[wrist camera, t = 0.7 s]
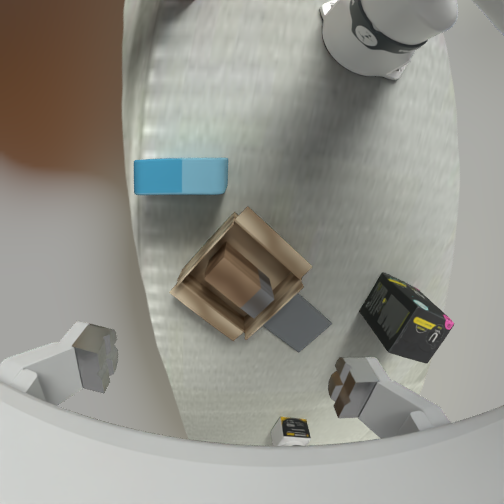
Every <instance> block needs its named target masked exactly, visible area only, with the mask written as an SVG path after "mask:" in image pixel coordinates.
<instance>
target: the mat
mask: <svg viewBox="0 0 504 504" xmlns="http://www.w3.org/2000/svg"><path fill="white" fill-rule="evenodd" d="M331 324H332V323H331V322H330V321H329V320H328V319H327V318H325V317H324V316H323V315H322V314H321V313H320V312H319V311H317V310H316V309H315V308H314V307H313V306H312V305H311V304H309V303H308V302H307V301H306V300H305V299H304V298H303V297H301V296H300V295H299V294H298V293H297V294H296V295H295V296H294V297H293V298H292V299H291V300H290V301H289V302H288V303H286V304H285V305H284V306H283V307H282V308H281V309H280V310H279V311H278V312H277V313H276V314H275V315H274V316H272V317H271V318H270V319H269V320H268V321H267V322H266V323H265V324H264V325H263V326H264V327H265V328H267V329H268V330H269V331H271V332H272V333H273V334H275V335H276V336H277V337H279V338H280V339H281V340H283V341H284V342H285V343H287V344H288V345H289V346H291V347H292V348H293V349H295V350H296V351H297V352H300V351H301V350H302V349H303V348H305V347H306V346H307V345H308V344H309V343H311V342H312V341H313V340H314V339H315V338H316V337H317V336H319V335H320V334H321V333H322V332H323V331H324V330H325V329H327V328H328V327H329V326H330V325H331Z"/></svg>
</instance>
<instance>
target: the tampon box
mask: <svg viewBox="0 0 504 504" xmlns="http://www.w3.org/2000/svg"><path fill="white" fill-rule="evenodd" d="M359 312H360V313H361V314H362V316H363V317H364V319H365V320H366V321H367V323H368V324H369V325H370V327H371V328H372V330H373V331H374V333H375V334H376V335H377V337H378V338H379V340H380V341H381V343H382V344H383V346H384V347H385V348H386V350H387V351H388V352H389V353H392V354H395V355H399V356H402V357H405V358H409V359H412V360H416V361H420V362H423V363H428V362H429V360H430V359H431V357H432V356H433V355H434V353H435V352H436V350H437V349H438V348H439V346H440V345H441V343H442V342H443V341H444V339H445V337H446V336H447V335H448V333H449V331H450V330H451V329H452V327H453V326H454V323H453V322H452V320H451V319H450V318H449V317H448V316H447V315H445V314H444V313H443V312H442V311H441V310H440V309H439V308H438V307H437V306H436V305H434V304H433V303H432V302H431V301H430V300H429V299H428V298H427V297H426V296H425V295H423V294H422V293H421V292H420V291H419V290H418V289H417V288H415V287H413V286H411V285H409V284H407V283H405V282H403V281H401V280H399V279H397V278H395V277H393V276H391V275H388V274H386V273H382V274H381V276H380V278H379V279H378V281H377V283H376V285H375V286H374V288H373V290H372V291H371V293H370V295H369V296H368V298H367V300H366V301H365V303H364V305H363V306H362V308H361V309H360V311H359Z"/></svg>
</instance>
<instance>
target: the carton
mask: <svg viewBox="0 0 504 504" xmlns="http://www.w3.org/2000/svg"><path fill="white" fill-rule="evenodd" d="M226 241H227V242H228V243H229V244H230V245H231V246H232V247H234V248H235V249H236V250H237V251H238V252H239V253H241V254H242V255H243V256H244V257H245V258H246V259H247V260H249V261H250V262H251V263H252V264H253V265H254V266H256V267H257V268H258V269H259V270H260V271H261V272H263V273H264V274H265V275H266V276H267V277H268V278H269V279H270V283H271V287H272V291H273V295H274V300H273V301H272V302H271V303H270V304H269V305H268V306H267V307H266V308H265V309H264V310H263V311H262V312H261V313H260V314H258V315H257V316H256V317H255V318H252V317H251V316H250V315H249V314H247V313H246V312H245V311H243V310H242V309H241V308H240V307H238V306H237V305H236V304H235V303H233V302H232V301H231V300H229V299H228V298H227V297H226V296H224V295H223V294H222V293H221V292H219V291H218V290H217V289H216V288H214V287H213V286H212V285H211V284H210V283H208V282H207V281H206V280H205V279H204V276H205V272H206V269H207V265H208V262H209V259H210V258H211V257H212V256H213V255H214V254H215V253H216V252H217V251H218V250H219V249H220V248H221V247H222V245H223V244H224V243H225V242H226ZM311 268H312V266H311V265H310V264H309V263H308V262H307V261H306V260H305V259H304V258H303V257H302V256H301V255H300V254H299V253H298V252H297V251H296V250H294V249H293V248H292V247H291V246H290V245H289V244H288V243H287V242H286V241H285V240H284V239H283V238H282V237H281V236H279V235H278V234H277V233H276V232H275V231H274V230H273V229H272V228H271V227H270V226H269V225H268V224H266V223H265V222H264V221H263V220H262V219H261V218H260V217H259V216H258V215H257V214H255V213H254V212H253V211H252V210H251V209H250V208H249V207H248V206H247V207H246V208H245V210H244V211H243V212H242V213H241V214H240V215H238V214H236V213H235V212H234V213H233V214H232V215H231V216H230V217H229V218H228V219H227V221H226V222H225V223H224V224H223V225H222V226H221V227H220V228H219V229H218V230H217V231H216V233H215V234H214V235H213V236H212V237H211V238H210V239H209V240H208V241H207V242H206V244H205V245H204V246H203V247H202V248H201V249H200V250H199V251H198V252H197V254H196V255H195V256H194V257H193V258H192V259H191V260H190V261H189V263H188V264H187V265H186V266H185V267H184V268H183V269H182V271H181V274H180V276H179V278H178V280H177V281H178V282H177V284H176V285H175V286H174V287H173V289H172V290H171V291H170V292H169V293H170V294H172V295H173V296H174V297H175V298H177V299H178V300H179V301H180V302H182V303H183V304H184V305H186V306H187V307H188V308H189V309H191V310H192V311H193V312H195V313H196V314H197V315H199V316H200V317H201V318H203V319H204V320H205V321H207V322H208V323H209V324H211V325H212V326H213V327H215V328H216V329H217V330H219V331H220V332H221V333H223V334H224V335H226V336H227V337H228V338H230V339H231V340H232V341H234V340H235V339H236V338H237V337H239V336H240V335H241V334H242V333H243V332H244V333H245V340H247V339H248V338H249V337H250V336H251V335H253V334H254V333H255V332H256V331H257V330H258V329H259V328H260V327H261V326H263V325H264V324H265V323H266V322H267V321H268V320H269V319H270V318H271V317H272V316H274V315H275V314H276V313H277V312H278V311H279V310H280V309H281V308H282V307H283V306H284V305H285V304H286V303H288V302H289V301H290V300H291V299H292V298H293V297H294V296H295V295H296V294H297V293H298V292H299V291H300V290H301V289H302V288H303V287H304V286H303V284H302V282H301V280H302V277H303V276H304V275H305V274H306V273H307V272H308V271H309V270H310V269H311Z"/></svg>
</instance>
